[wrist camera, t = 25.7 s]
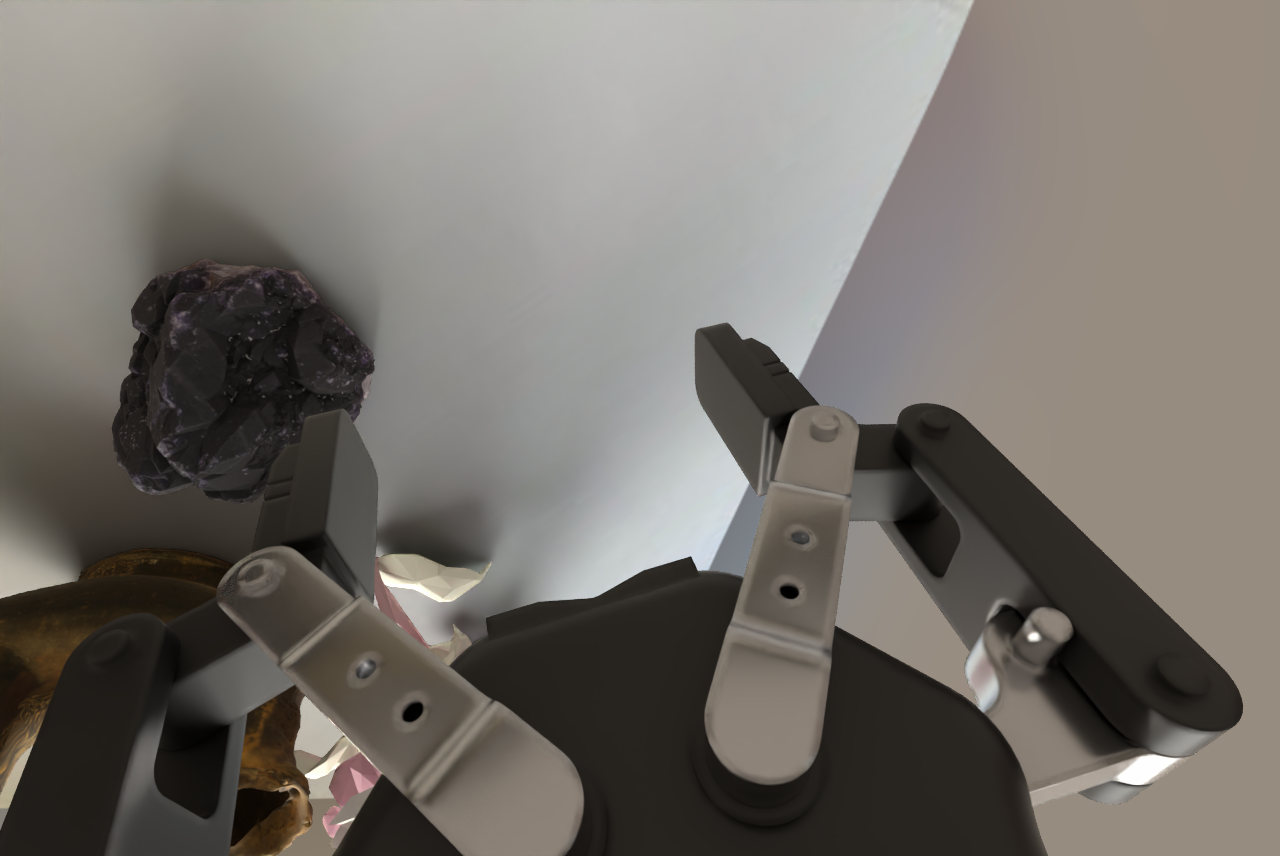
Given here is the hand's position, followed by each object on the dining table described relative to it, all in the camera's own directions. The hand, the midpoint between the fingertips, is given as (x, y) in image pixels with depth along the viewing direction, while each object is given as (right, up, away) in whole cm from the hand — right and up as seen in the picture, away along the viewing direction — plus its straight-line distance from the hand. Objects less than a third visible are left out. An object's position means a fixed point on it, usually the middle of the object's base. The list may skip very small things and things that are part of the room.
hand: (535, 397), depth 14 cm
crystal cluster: (-21, +4, +24) cm, 32 cm away
